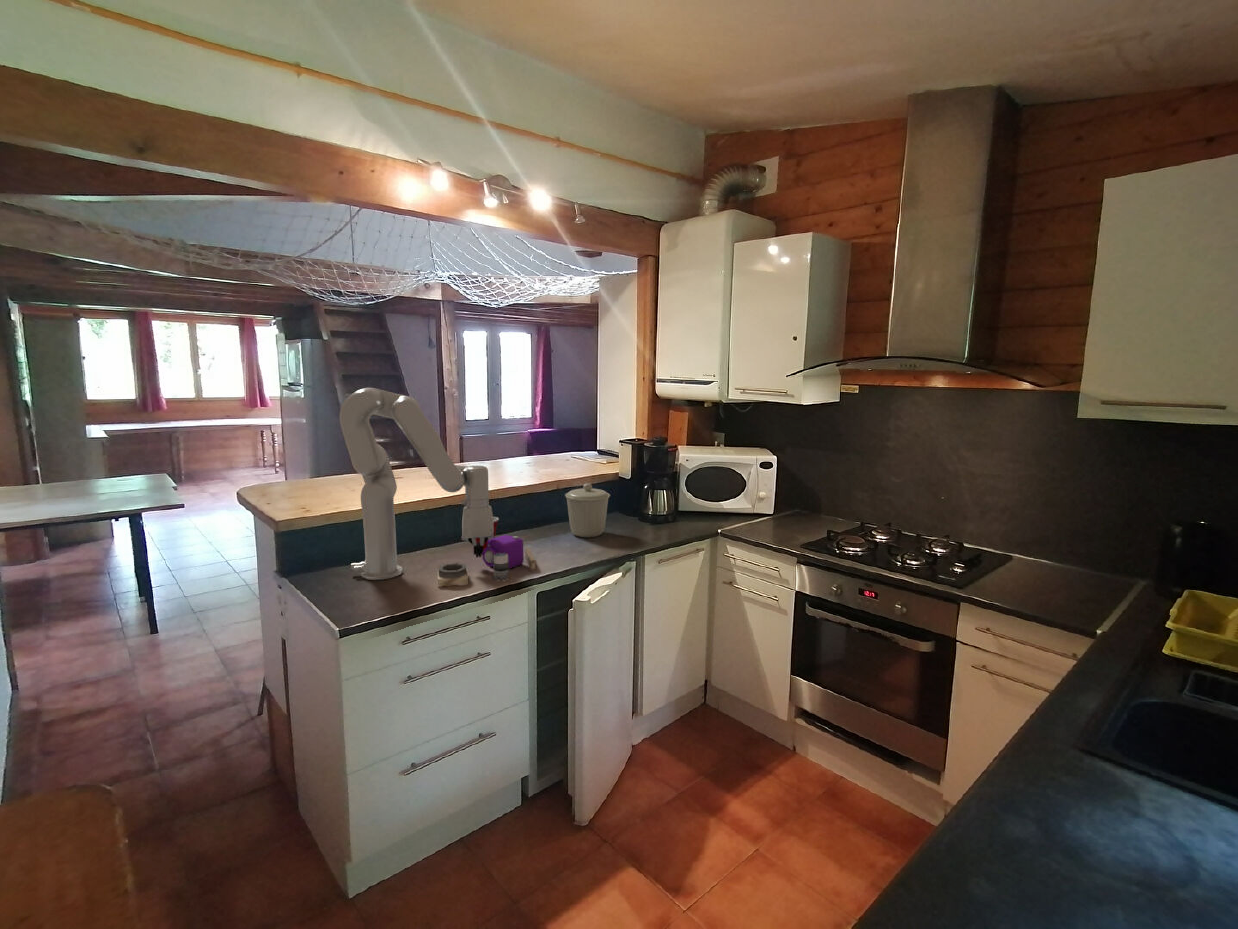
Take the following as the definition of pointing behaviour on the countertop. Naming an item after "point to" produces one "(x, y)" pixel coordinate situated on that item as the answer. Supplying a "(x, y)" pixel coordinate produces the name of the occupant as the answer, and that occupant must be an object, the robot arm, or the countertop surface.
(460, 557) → the countertop surface
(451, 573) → the mount
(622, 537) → the countertop surface
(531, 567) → the rail
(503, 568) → the lens
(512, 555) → the toy camera
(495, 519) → the plastic cup
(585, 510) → the canister
